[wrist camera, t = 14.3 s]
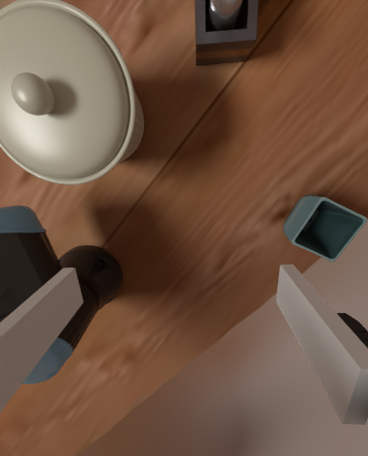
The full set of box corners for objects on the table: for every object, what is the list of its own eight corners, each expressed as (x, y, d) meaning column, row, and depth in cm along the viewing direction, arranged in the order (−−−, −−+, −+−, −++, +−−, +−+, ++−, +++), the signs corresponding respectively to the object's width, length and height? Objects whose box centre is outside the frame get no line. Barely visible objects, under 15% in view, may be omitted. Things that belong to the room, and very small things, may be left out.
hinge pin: (206, 49, 34) (214, -17, 21) (206, 18, 33) (214, -73, 20) (231, 47, 34) (254, -22, 21) (232, 16, 33) (257, -78, 20)
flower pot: (334, 205, 42) (369, 218, 33) (308, 242, 44) (334, 263, 36) (296, 187, 41) (322, 195, 32) (271, 225, 44) (290, 243, 35)
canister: (42, 110, 39) (-120, 63, 19) (115, 38, 34) (7, -119, 15) (107, 191, 43) (31, 222, 23) (178, 136, 39) (161, 117, 19)
